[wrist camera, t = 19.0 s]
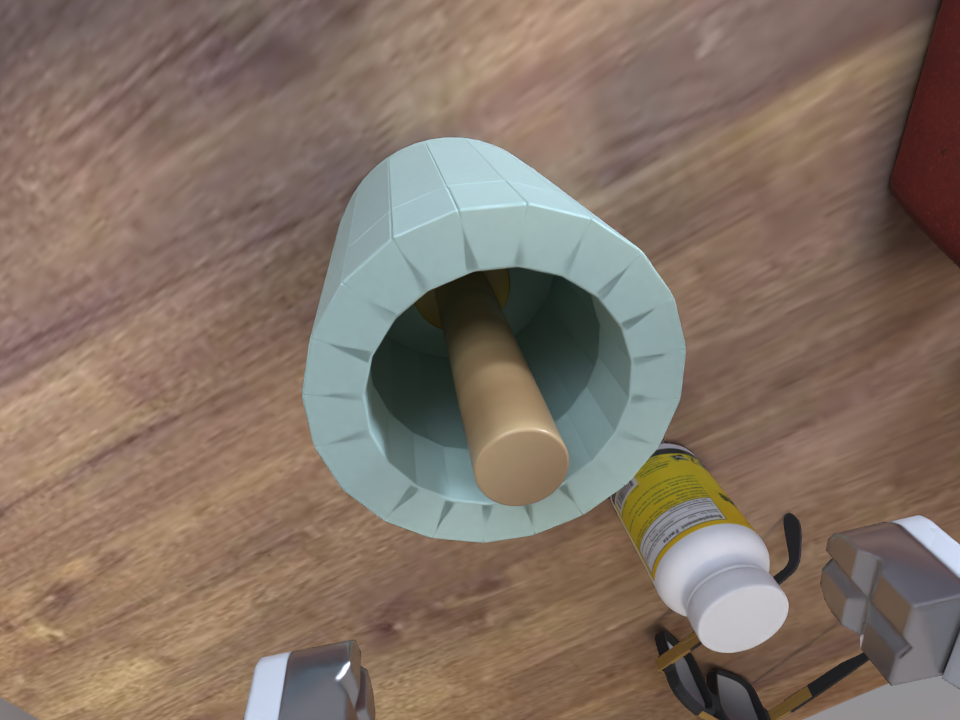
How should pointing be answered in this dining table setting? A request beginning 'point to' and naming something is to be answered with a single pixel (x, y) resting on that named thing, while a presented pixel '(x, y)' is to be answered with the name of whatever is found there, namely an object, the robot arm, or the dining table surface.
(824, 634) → the dining table surface
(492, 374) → the beige handle with collar
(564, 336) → the mint green tube
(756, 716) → the sunglasses
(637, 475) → the pill bottle
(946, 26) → the flower pot
